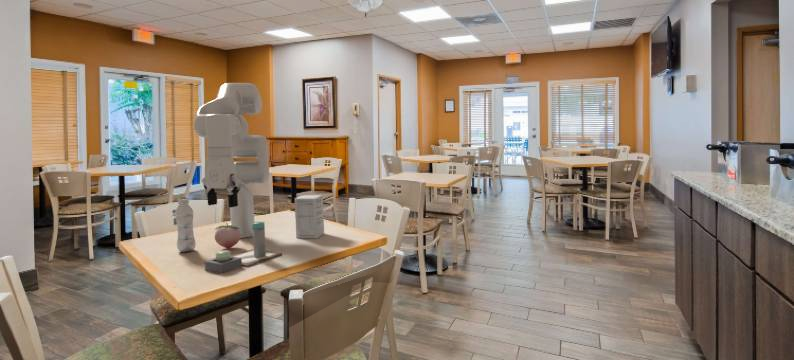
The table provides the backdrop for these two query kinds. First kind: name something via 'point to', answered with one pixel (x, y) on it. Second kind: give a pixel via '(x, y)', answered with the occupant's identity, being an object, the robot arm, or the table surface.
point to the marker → (259, 239)
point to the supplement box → (309, 216)
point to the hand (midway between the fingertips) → (222, 205)
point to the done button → (222, 255)
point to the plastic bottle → (185, 226)
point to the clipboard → (249, 257)
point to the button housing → (223, 265)
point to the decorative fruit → (227, 235)
